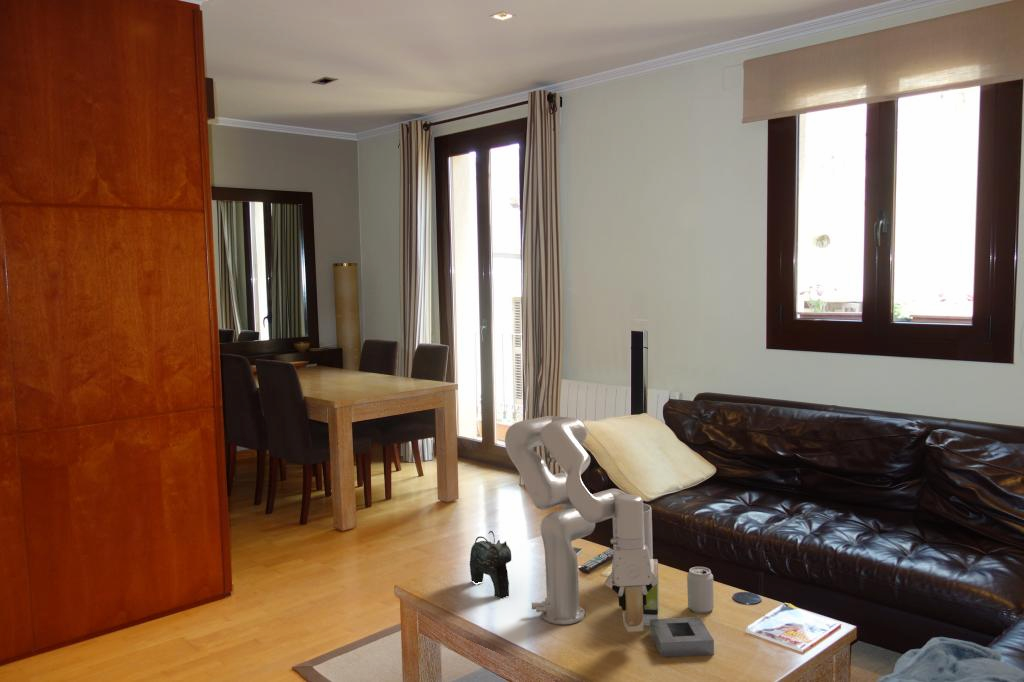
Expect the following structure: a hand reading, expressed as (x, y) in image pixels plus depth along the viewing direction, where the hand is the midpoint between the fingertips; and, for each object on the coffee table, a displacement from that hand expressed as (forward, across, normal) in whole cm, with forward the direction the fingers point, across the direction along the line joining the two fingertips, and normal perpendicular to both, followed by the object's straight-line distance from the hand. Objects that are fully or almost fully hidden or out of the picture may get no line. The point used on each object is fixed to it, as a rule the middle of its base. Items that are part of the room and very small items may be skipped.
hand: (632, 607), depth 211 cm
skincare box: (+6, 0, 0) cm, 6 cm away
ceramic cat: (+11, -39, +43) cm, 59 cm away
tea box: (+11, +6, +19) cm, 23 cm away
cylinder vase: (+11, +8, +43) cm, 45 cm away
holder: (+11, +13, 0) cm, 17 cm away
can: (+11, +24, +21) cm, 34 cm away
